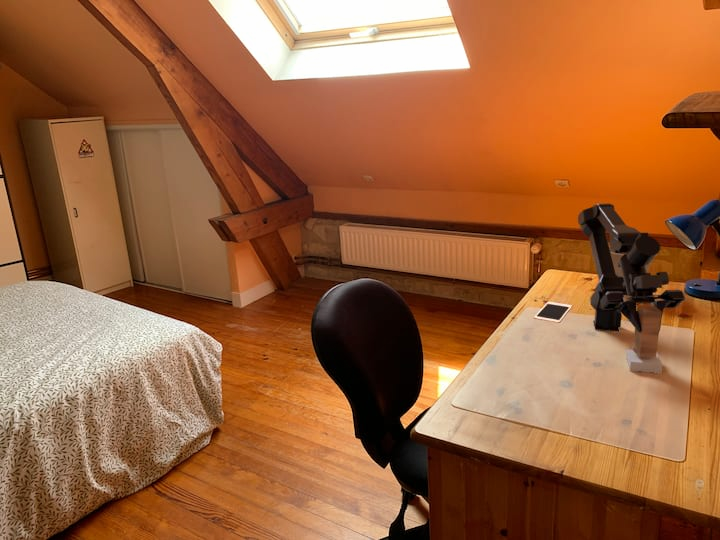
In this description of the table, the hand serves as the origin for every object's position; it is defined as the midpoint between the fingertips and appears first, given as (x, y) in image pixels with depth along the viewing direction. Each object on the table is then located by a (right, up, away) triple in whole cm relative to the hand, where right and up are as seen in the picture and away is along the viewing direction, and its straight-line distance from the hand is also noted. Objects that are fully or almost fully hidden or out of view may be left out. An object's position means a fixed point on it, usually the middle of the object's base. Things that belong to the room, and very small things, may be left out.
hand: (649, 331), depth 135 cm
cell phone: (-9, +1, +41) cm, 42 cm away
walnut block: (0, -6, +3) cm, 7 cm away
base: (+1, -9, +4) cm, 10 cm away
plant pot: (+19, +6, +53) cm, 56 cm away
